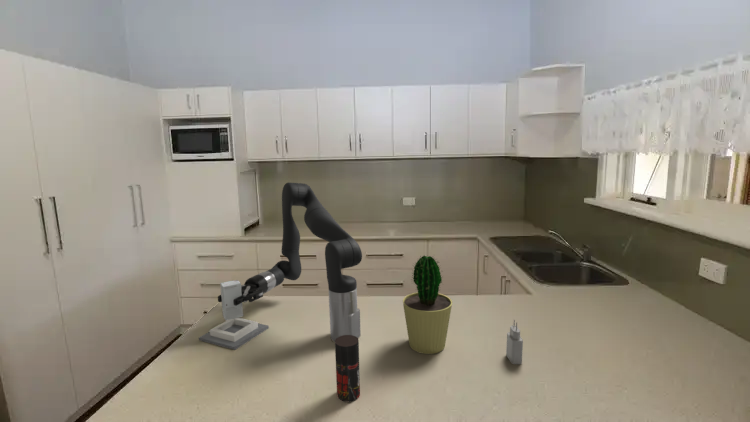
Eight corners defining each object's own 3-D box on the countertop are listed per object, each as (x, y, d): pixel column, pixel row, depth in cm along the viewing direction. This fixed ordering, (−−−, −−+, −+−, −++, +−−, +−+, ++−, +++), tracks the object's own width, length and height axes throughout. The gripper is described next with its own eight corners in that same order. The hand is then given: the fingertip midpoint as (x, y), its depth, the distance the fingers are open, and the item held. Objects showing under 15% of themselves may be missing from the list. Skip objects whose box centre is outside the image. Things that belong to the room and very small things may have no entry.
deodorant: (337, 388, 102) (335, 335, 99) (359, 386, 102) (358, 334, 100) (336, 402, 96) (334, 347, 93) (360, 401, 96) (359, 345, 94)
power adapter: (515, 353, 117) (517, 316, 115) (522, 363, 111) (524, 325, 109) (505, 354, 116) (506, 317, 114) (512, 364, 111) (513, 325, 109)
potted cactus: (461, 343, 123) (462, 252, 118) (433, 363, 112) (434, 264, 107) (422, 328, 134) (422, 244, 129) (393, 345, 123) (392, 255, 118)
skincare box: (225, 321, 128) (222, 287, 126) (222, 316, 132) (219, 282, 130) (244, 316, 132) (241, 282, 129) (240, 311, 135) (237, 279, 133)
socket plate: (268, 328, 136) (268, 320, 136) (234, 350, 122) (234, 341, 122) (234, 320, 143) (234, 312, 143) (199, 340, 129) (198, 331, 128)
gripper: (245, 271, 146) (209, 287, 131) (275, 277, 140) (241, 293, 125) (246, 290, 147) (211, 308, 132) (276, 296, 141) (243, 315, 126)
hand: (226, 301), depth 129 cm, fingers closed on skincare box, 6 cm apart
